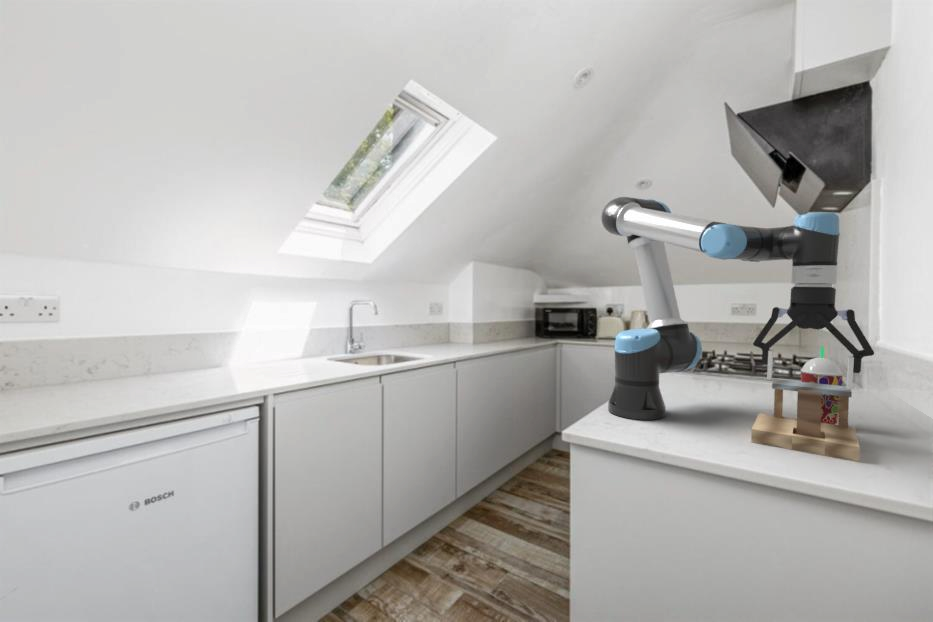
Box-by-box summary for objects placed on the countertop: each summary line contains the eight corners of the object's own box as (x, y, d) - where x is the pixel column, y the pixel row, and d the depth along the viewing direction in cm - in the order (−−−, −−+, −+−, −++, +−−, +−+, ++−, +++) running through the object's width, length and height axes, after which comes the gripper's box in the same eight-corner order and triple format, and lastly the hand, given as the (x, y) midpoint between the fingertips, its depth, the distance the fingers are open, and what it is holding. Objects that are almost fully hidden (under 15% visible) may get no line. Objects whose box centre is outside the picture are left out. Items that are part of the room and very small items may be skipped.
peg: (796, 442, 96) (798, 389, 95) (819, 446, 93) (821, 392, 93) (796, 447, 93) (797, 392, 92) (819, 451, 90) (821, 395, 89)
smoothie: (843, 432, 102) (845, 349, 101) (799, 425, 107) (801, 347, 106) (839, 423, 109) (842, 346, 108) (798, 417, 114) (800, 344, 113)
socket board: (751, 441, 96) (752, 388, 95) (758, 424, 108) (759, 377, 108) (859, 461, 84) (861, 401, 84) (854, 440, 96) (855, 387, 96)
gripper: (742, 285, 96) (738, 377, 98) (897, 286, 80) (889, 396, 82) (746, 285, 102) (742, 372, 103) (892, 286, 86) (884, 388, 88)
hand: (807, 383), depth 93 cm, fingers open, 13 cm apart
